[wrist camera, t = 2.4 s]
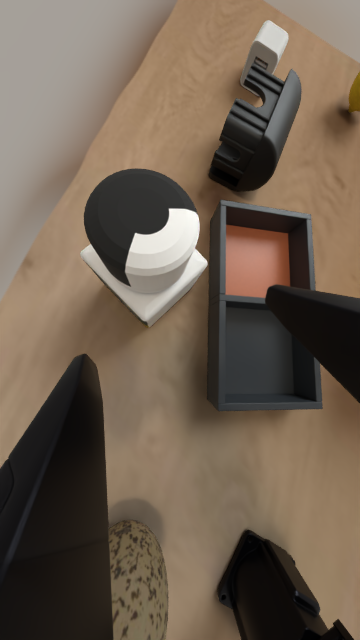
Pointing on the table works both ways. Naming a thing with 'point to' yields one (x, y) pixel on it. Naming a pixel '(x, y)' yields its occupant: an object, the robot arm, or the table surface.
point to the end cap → (256, 131)
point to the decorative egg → (137, 583)
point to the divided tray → (258, 310)
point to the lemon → (355, 95)
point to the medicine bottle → (143, 241)
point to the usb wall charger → (266, 50)
